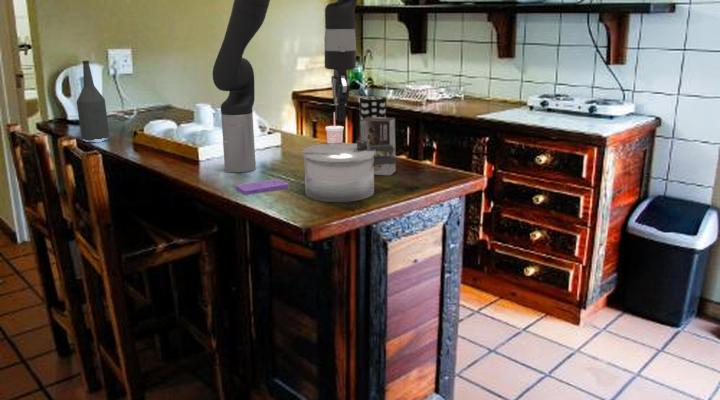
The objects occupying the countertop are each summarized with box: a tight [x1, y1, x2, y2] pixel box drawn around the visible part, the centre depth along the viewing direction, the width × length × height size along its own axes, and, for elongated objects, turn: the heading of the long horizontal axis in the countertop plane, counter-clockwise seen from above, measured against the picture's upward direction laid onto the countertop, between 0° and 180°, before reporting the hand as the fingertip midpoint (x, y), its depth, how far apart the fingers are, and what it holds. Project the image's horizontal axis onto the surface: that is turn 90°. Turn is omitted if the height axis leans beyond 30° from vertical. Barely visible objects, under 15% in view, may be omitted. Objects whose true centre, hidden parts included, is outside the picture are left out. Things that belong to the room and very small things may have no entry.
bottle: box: [76, 60, 110, 140], centre depth 234 cm, size 10×10×30 cm
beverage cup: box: [325, 111, 345, 143], centre depth 210 cm, size 6×6×14 cm
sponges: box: [235, 178, 290, 196], centre depth 168 cm, size 7×13×2 cm, turn 119°
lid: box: [301, 140, 393, 163], centre depth 161 cm, size 24×20×3 cm
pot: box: [303, 156, 397, 203], centre depth 163 cm, size 24×18×10 cm
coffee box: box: [359, 116, 397, 176], centre depth 183 cm, size 9×6×16 cm
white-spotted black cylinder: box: [359, 96, 387, 141], centre depth 198 cm, size 8×8×20 cm
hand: (340, 120), depth 155 cm, fingers closed
